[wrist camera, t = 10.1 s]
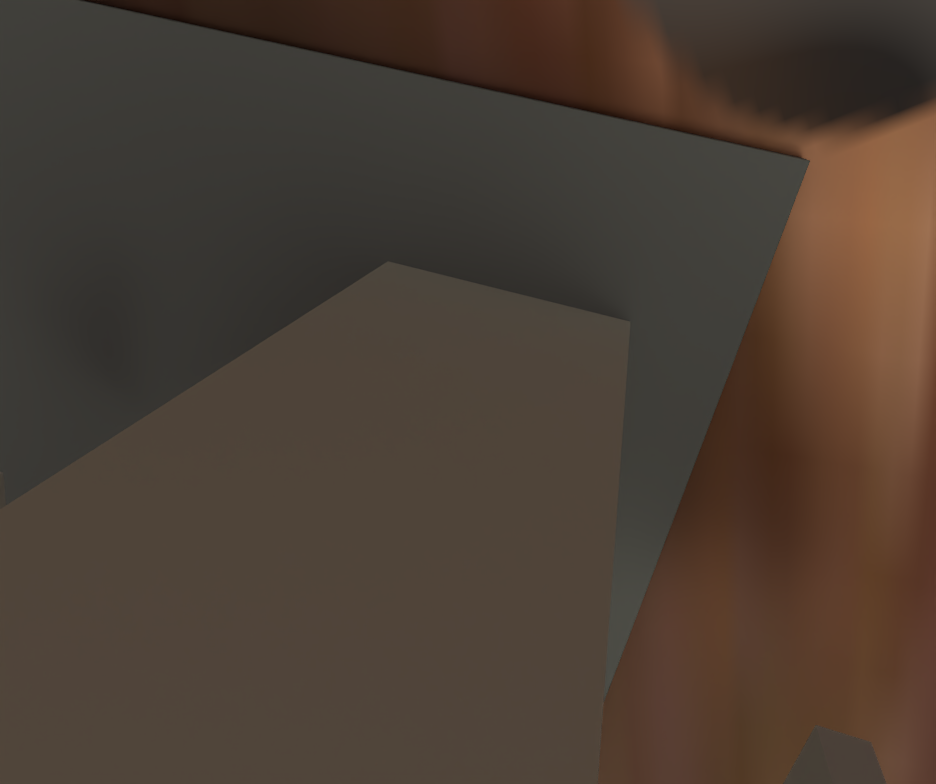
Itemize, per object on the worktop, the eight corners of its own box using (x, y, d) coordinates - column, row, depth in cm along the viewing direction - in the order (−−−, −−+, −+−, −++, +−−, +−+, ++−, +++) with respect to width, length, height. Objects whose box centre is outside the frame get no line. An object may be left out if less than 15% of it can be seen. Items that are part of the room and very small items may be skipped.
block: (339, 601, 18) (-118, 1355, 7) (387, 260, 15) (-399, 765, 4) (528, 661, 18) (336, 1590, 7) (630, 321, 14) (570, 1163, 3)
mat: (-88, 537, 22) (-107, 548, 22) (-187, -59, 15) (-218, -65, 15) (575, 763, 19) (573, 782, 19) (803, 158, 13) (810, 160, 12)
